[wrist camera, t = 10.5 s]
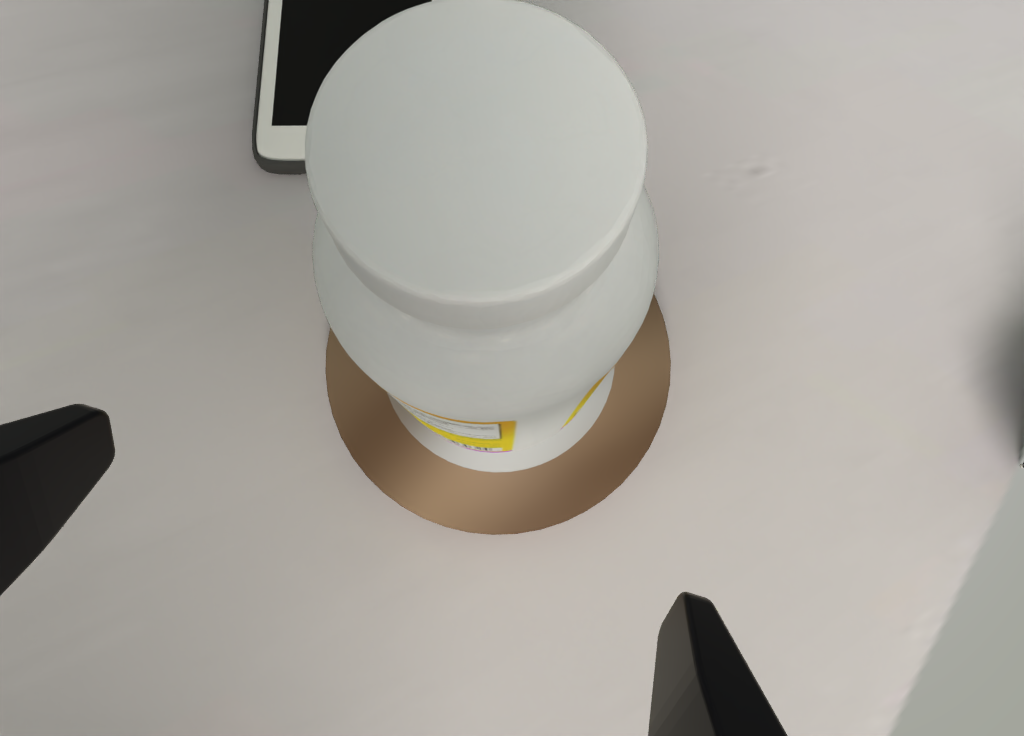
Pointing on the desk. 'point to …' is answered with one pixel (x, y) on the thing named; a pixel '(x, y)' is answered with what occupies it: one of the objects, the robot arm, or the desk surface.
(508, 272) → the supplement bottle
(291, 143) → the cell phone
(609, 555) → the desk surface
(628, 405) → the brown rimmed plate
